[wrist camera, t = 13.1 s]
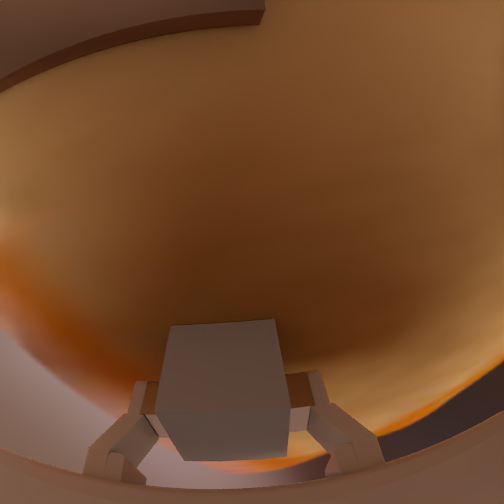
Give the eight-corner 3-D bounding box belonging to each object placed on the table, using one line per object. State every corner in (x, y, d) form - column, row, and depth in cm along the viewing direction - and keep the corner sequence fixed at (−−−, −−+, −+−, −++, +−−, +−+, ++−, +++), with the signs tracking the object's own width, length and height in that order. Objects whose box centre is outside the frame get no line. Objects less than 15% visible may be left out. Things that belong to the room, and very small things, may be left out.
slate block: (170, 325, 11) (154, 411, 8) (274, 318, 11) (290, 406, 8) (190, 386, 13) (184, 460, 10) (275, 381, 13) (286, 456, 10)
